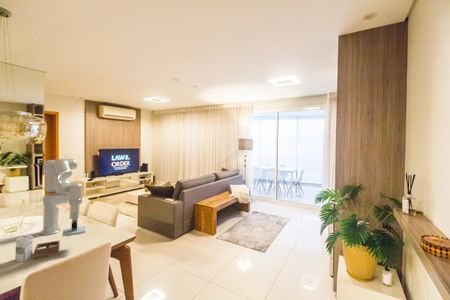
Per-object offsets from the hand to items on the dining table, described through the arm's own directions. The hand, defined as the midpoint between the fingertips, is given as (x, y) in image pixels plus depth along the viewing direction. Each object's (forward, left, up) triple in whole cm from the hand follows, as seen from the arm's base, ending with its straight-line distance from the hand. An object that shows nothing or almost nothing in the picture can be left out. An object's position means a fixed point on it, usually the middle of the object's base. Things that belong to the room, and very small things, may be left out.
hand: (74, 227), depth 146 cm
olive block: (0, -17, -15) cm, 22 cm away
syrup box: (+2, -25, -16) cm, 30 cm away
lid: (0, 0, -3) cm, 3 cm away
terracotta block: (0, -11, -15) cm, 19 cm away
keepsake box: (0, -14, -16) cm, 21 cm away
